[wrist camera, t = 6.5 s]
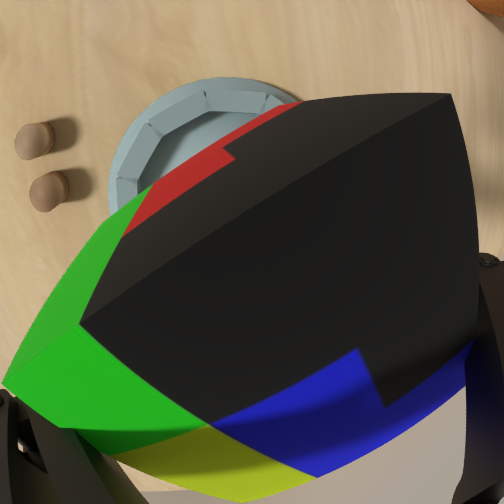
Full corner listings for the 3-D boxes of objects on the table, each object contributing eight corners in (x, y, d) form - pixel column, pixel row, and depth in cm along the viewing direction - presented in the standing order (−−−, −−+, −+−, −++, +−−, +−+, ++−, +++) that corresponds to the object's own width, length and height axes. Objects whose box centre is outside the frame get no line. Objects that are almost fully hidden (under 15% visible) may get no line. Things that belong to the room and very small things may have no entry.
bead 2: (48, 165, 24) (35, 171, 21) (73, 179, 25) (62, 186, 23) (38, 195, 25) (25, 203, 22) (62, 208, 26) (51, 218, 24)
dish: (191, 37, 22) (191, 28, 19) (370, 165, 31) (385, 171, 28) (79, 238, 28) (69, 251, 25) (256, 321, 37) (261, 337, 35)
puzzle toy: (356, 264, 17) (467, 383, 8) (215, 349, 17) (242, 503, 8) (278, 105, 12) (450, 94, 3) (101, 223, 13) (1, 383, 4)
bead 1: (36, 117, 21) (22, 118, 19) (59, 130, 23) (47, 132, 20) (24, 148, 22) (10, 152, 20) (46, 161, 24) (33, 166, 21)
